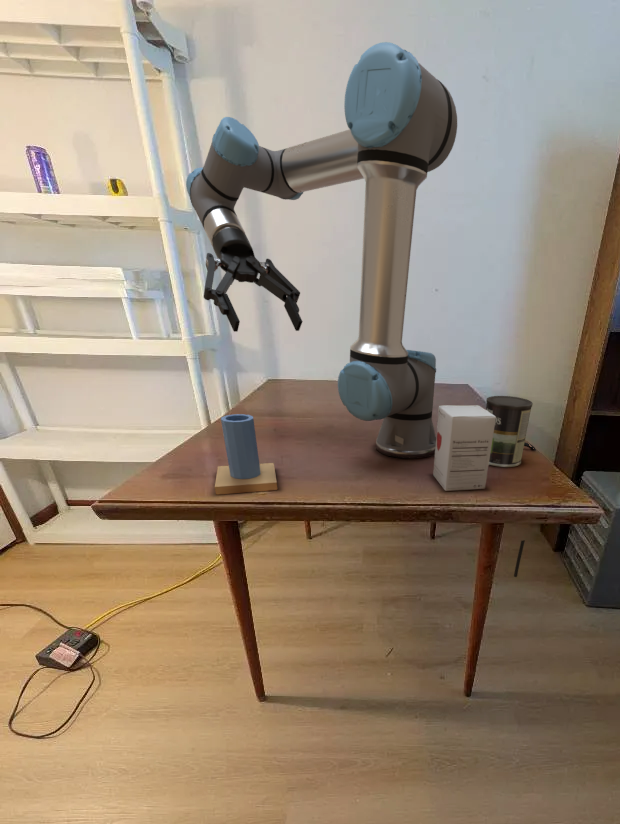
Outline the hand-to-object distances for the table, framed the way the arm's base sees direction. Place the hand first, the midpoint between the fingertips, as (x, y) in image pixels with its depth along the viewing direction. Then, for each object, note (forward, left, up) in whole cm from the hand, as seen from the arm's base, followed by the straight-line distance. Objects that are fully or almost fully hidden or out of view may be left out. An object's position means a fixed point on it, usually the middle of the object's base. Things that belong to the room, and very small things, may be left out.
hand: (269, 326), depth 88 cm
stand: (+8, +17, -27) cm, 33 cm away
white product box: (-34, +26, -27) cm, 51 cm away
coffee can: (-50, +15, -27) cm, 59 cm away
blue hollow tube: (+8, +17, -25) cm, 31 cm away
